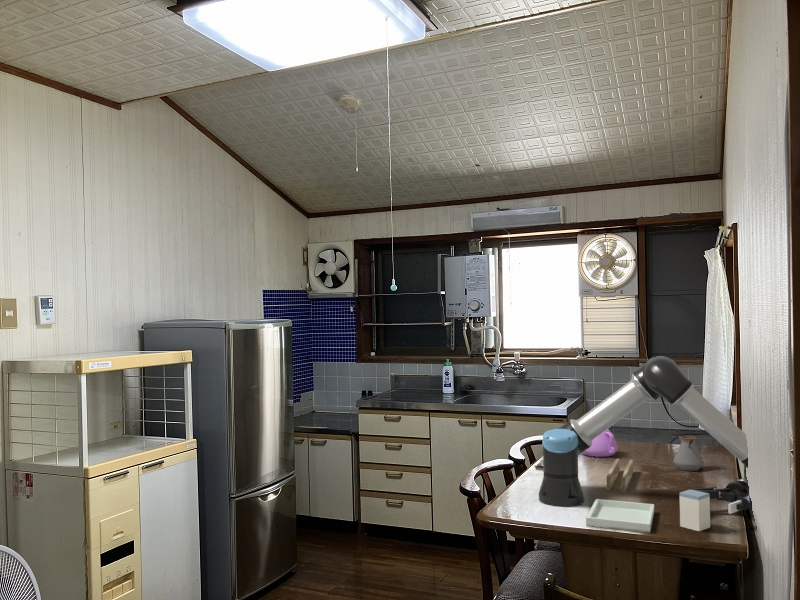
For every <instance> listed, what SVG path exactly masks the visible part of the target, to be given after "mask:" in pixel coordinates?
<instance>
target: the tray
mask: <svg viewBox="0 0 800 600" xmlns="http://www.w3.org/2000/svg"><path fill="white" fill-rule="evenodd" d="M654 515H655V504H653V503H643V502H632V501H622V500H614V499H602V498H596V499H595V500H594V502H593V504H592V506H591V508H590V509H589V511H588V513H587V516H586V517H585V520H586V521H585V525H586V527H591V526H594V528H600V527H602V528H603V529H609V528H610V529H612V530H618V529H619V531H630V532H636V531H637V532H639V533H645V534H646V533H647V534H650V533H651V529H652V526H653V519H654ZM602 528H601V529H602Z"/></svg>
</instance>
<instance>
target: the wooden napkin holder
mask: <svg viewBox="0 0 800 600" xmlns="http://www.w3.org/2000/svg"><path fill="white" fill-rule="evenodd" d="M628 460H629V461H628V462H627V465H626V467H625V469H624V472H623V474H622V476H621V492H622V493H625V492H627V490H628V487H629V485H630V484H629V483H630V481H631V480H632V477H633V474H634V460H633V459H628ZM620 466H621V465H620V458H615V460H614V462H613V464H612V466H611V467H610V469H609V471H608V473H607V475H606V491H609V492H610V491H611V490H612V488H613V486H614V484H615V482H616V480H617V478H618V476H619V474H618V473H620V472H619V471H620V470H621V469H620ZM626 489H627V490H626Z"/></svg>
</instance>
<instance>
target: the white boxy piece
mask: <svg viewBox="0 0 800 600" xmlns="http://www.w3.org/2000/svg"><path fill="white" fill-rule="evenodd" d="M678 497H679V527H680V528H681V527H682V528H686V529H687V530H688V529H689V530H692V531H697V532H701V531H704V530H707V529H709V528H711V509H710V508H711V507H710V506H711V504H710V503H711V502H710V500H711V499H710V495H709V493H705V492H700V491H696V490H691V488H689V489H688V490H684V491H680V492H679V496H678Z"/></svg>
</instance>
